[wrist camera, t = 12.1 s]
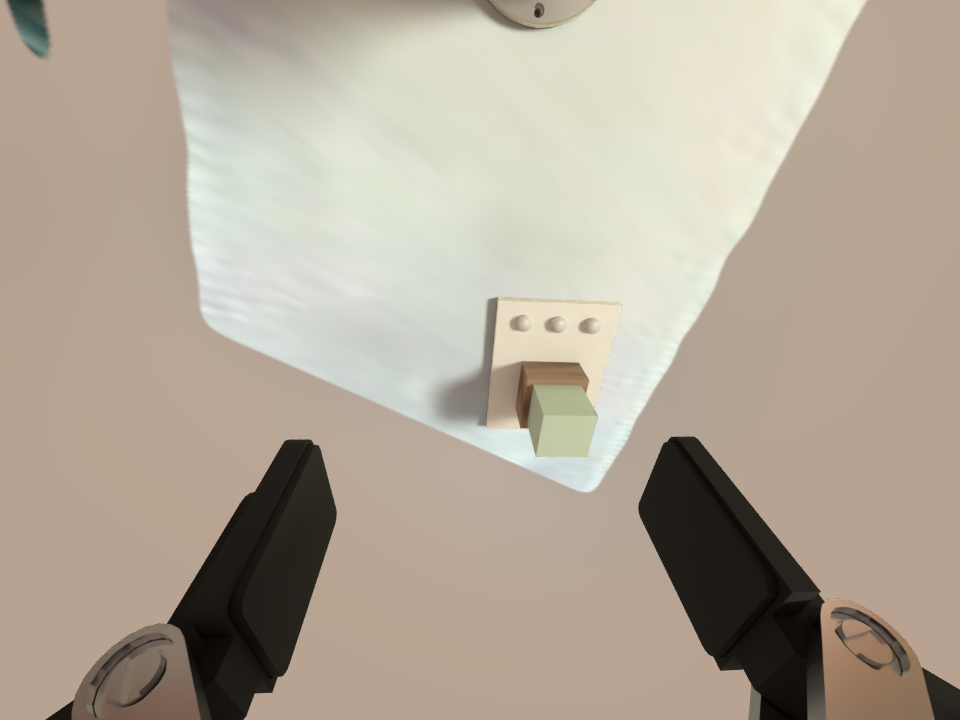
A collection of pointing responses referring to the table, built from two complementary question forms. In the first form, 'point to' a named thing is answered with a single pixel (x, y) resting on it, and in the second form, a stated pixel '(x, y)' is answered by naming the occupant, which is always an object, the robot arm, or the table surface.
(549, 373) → the walnut block
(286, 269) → the table surface
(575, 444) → the sage block
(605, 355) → the snap baseplate
